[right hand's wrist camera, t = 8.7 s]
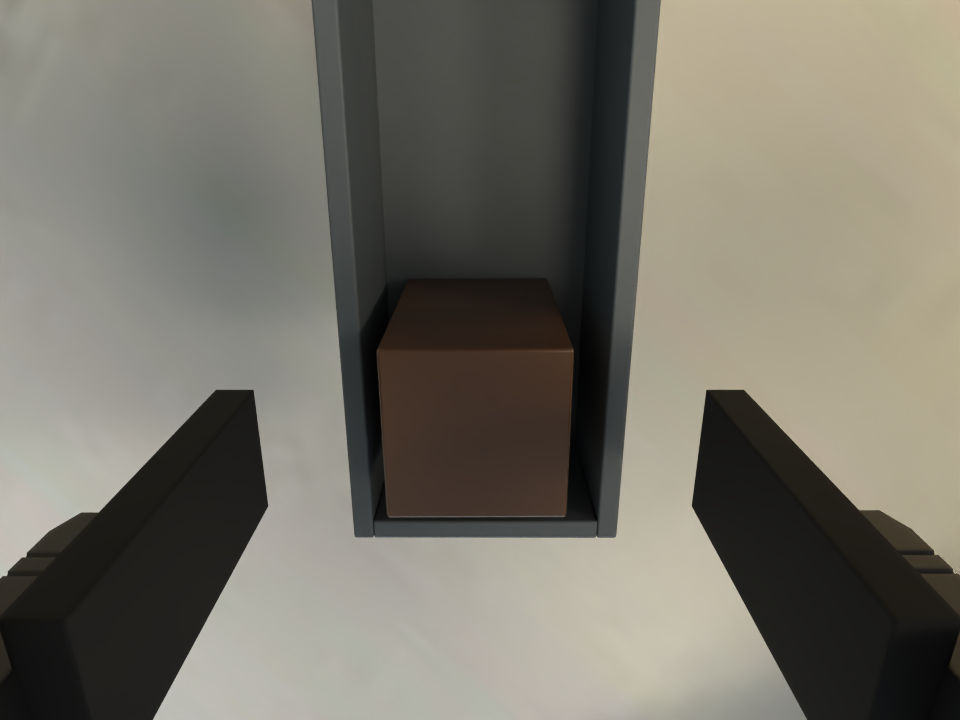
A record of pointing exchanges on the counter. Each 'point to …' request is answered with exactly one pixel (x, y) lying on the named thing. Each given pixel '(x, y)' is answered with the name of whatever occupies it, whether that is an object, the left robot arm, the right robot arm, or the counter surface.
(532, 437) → the walnut block
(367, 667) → the counter surface
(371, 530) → the trough
